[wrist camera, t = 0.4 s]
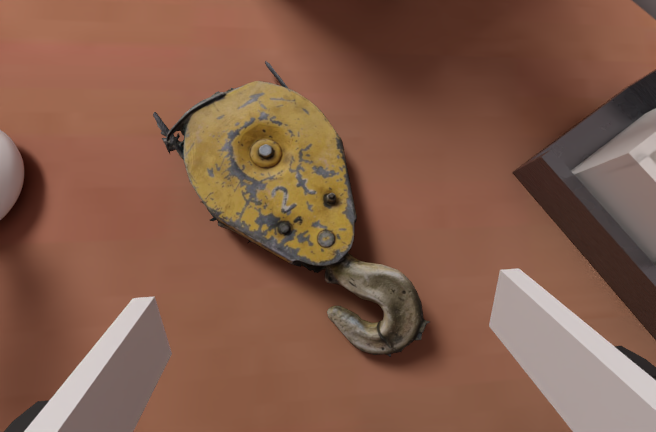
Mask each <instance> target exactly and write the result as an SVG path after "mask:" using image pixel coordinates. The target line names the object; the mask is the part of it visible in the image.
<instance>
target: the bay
mask: <svg viewBox="0 0 656 432" xmlns="http://www.w3.org/2000/svg"><path fill="white" fill-rule="evenodd" d="M655 108H656V69H655V70H654V71H652V72H651V73H649V74H647V75H646V76H644V77H642V78H641V79H639V80H638V81H636V82H634V83H633V84H631V85H630V86H628V87H626V88H625V89H623V90H622V91H621V92H619V93H618V94H617V95H615V96H614V97H613V98H611V99H610V100H609V101H607V102H606V103H605V104H603V105H602V106H601V107H599V108H598V109H597V110H595V111H594V112H593V113H591V114H590V115H589V116H587V117H586V118H585V119H583V120H582V121H581V122H579V123H578V124H577V125H575V126H574V127H573V128H571V129H570V130H569V131H567V132H566V133H565V134H563V135H562V136H561V137H559V138H558V139H557V140H555V141H554V142H552V143H551V144H550V145H548V146H547V147H546V148H544V149H543V150H542V151H540V152H539V153H538V154H536V155H535V156H534V157H532V158H531V159H530V160H528V161H527V162H526V163H524V164H523V165H522V166H520V167H519V168H518V169H516V170H515V171H514V172H513V174H514V175H515V176H516V177H517V178H518V179H519V181H520V182H521V183H522V184H523V185H524V186H525V188H526V189H527V190H528V191H529V192H530V193H531V195H532V196H533V197H534V198H535V199H536V200H537V202H538V203H539V204H540V205H541V206H542V207H543V209H544V210H545V211H546V212H547V213H548V214H549V216H550V217H551V218H552V219H553V220H554V221H555V223H556V224H557V225H558V226H559V227H560V228H561V230H562V231H563V232H564V233H565V234H566V235H567V237H568V238H569V239H570V240H571V241H572V242H573V244H574V245H575V246H576V247H577V248H578V249H579V251H580V252H581V253H582V254H583V255H584V256H585V258H586V259H587V260H588V261H589V262H590V263H591V265H592V266H593V267H594V268H595V269H596V270H597V272H598V273H599V274H600V275H601V276H602V277H603V279H604V280H605V281H606V282H607V283H608V284H609V286H610V287H611V288H612V289H613V290H614V291H615V293H616V294H617V295H618V296H619V297H620V298H621V300H622V301H623V302H624V303H625V304H626V305H627V307H628V308H629V309H630V310H631V311H632V312H633V314H634V315H635V316H636V317H637V318H638V319H639V321H640V322H641V323H642V324H643V325H644V326H645V328H646V329H647V330H648V331H649V332H650V333H651V335H652V336H653V337H654V338H655V339H656V266H655V265H654V263H653V262H652V261H651V260H650V259H649V258H648V257H647V256H646V255H645V253H644V252H643V251H642V250H641V249H640V248H639V247H638V246H637V244H636V243H635V242H634V241H633V240H632V239H631V238H630V237H629V235H628V234H627V233H626V232H625V231H624V230H623V229H622V228H621V227H620V225H619V224H618V223H617V222H616V221H615V220H614V219H613V218H612V216H611V215H610V214H609V213H608V212H607V211H606V210H605V209H604V207H603V206H602V205H601V204H600V203H599V202H598V201H597V200H596V198H595V197H594V196H593V195H592V194H591V193H590V192H589V191H588V190H587V188H586V187H585V186H584V185H583V184H582V183H581V182H580V181H579V179H578V178H577V177H576V176H575V175H574V174H573V173H572V172H571V170H572V169H574V168H575V167H576V166H578V165H579V164H580V163H581V162H583V161H584V160H585V159H587V158H588V157H589V156H591V155H592V154H593V153H595V152H596V151H597V150H598V149H600V148H601V147H602V146H604V145H605V144H606V143H608V142H609V141H610V140H611V139H613V138H614V137H615V136H617V135H618V134H619V133H621V132H622V131H623V130H624V129H626V128H627V127H628V126H630V125H631V124H632V123H634V122H635V121H636V120H638V119H639V118H640V117H641V116H643V115H644V114H645V113H647V112H649V111H651V110H653V109H655Z"/></svg>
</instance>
